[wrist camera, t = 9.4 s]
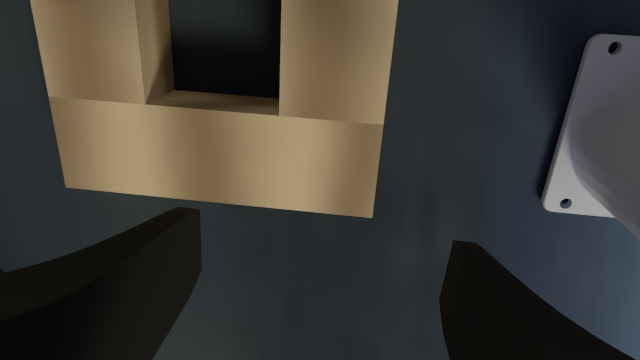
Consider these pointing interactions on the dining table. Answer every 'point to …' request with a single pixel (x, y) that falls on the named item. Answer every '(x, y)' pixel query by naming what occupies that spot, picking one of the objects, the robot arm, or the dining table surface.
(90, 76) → the pocket block
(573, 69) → the dining table surface
